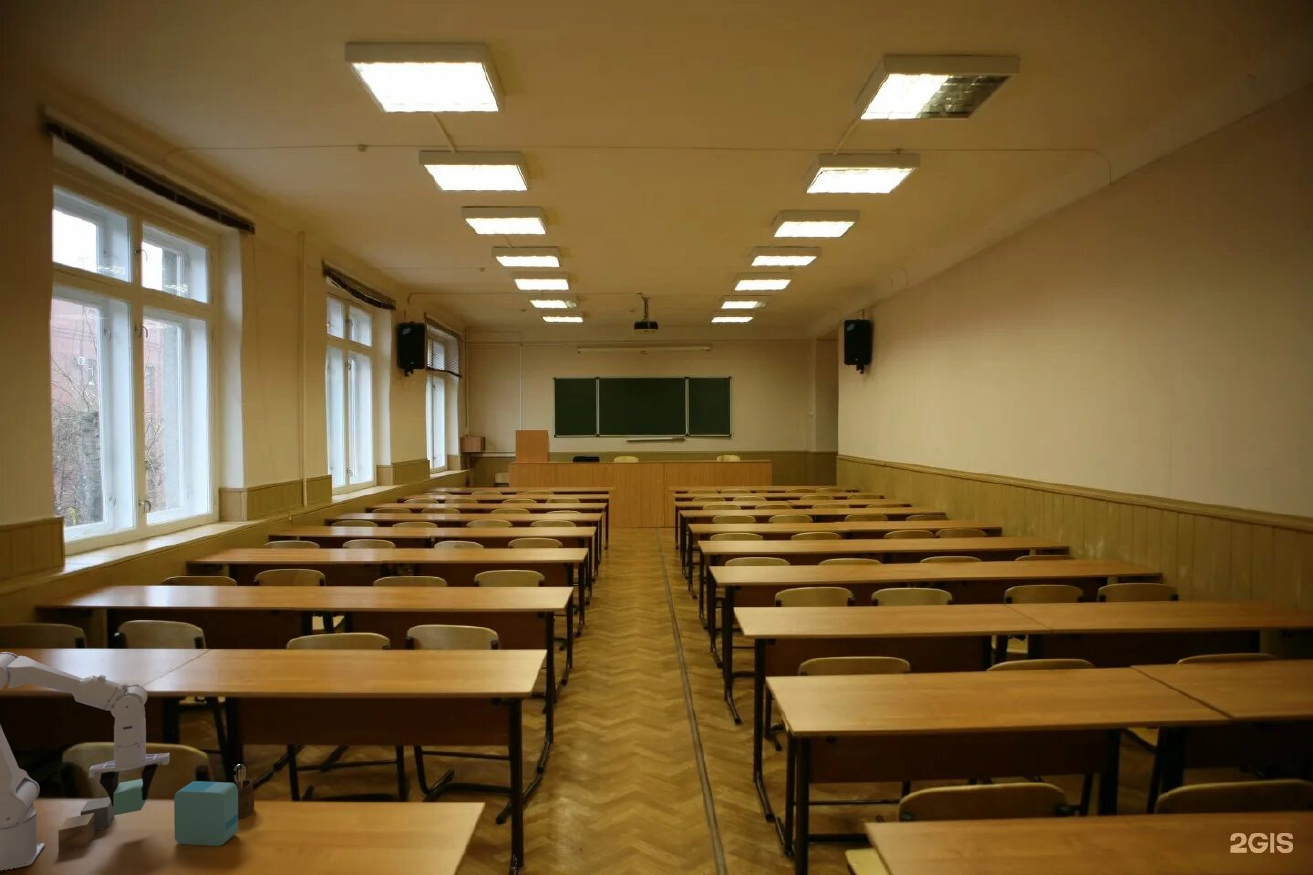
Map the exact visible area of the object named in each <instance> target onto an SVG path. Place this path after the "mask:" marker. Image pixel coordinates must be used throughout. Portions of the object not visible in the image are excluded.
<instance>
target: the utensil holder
mask: <svg viewBox="0 0 1313 875" xmlns="http://www.w3.org/2000/svg"><path fill="white" fill-rule="evenodd" d="M240 766H241V767H242V768H240ZM237 768H238V769H237ZM234 769H235V770H238V772H237V773H238V774H237V776H234V777H233V778H234V780H235V781H234V782H233V783H234V784H235V785H236V786H237V788H238V820H240V819H243V818H247V817H248V816H249V815H251V814H252V813H253V812H254V810H255V790H254V788H253V786H254V785H253V781H252V780H251V779H246V777H247V768H246V767H245V765H244V764H242V763H241V764H237V765H236V766H235V767H234Z"/></svg>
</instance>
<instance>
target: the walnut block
mask: <svg viewBox="0 0 1313 875" xmlns="http://www.w3.org/2000/svg"><path fill="white" fill-rule="evenodd" d="M57 834H58V840H57V841H58V843H57V844H58V847H57V848H58V853H64V852H68V851H72V850H77V849H76V848H78V849H81V848H86V847H89V844H90V843H91V841H92V839H93V837H94V836H95V830H94V813H91V814H86V815H81V814H80V815H77V816H72V817H71V816H70V817H66V818H65V819H64V821H63V823H62V824H61V825H60V827H59V829H58V833H57Z"/></svg>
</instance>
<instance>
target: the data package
mask: <svg viewBox="0 0 1313 875" xmlns="http://www.w3.org/2000/svg"><path fill="white" fill-rule="evenodd" d="M173 802H174V809H173V810H174V813H173V814H174V815H173V816H174V840H175V842H176V843H178V844H180V845H190V846H191V845H192V846H193V845H195V846H206V847H207V846H211V847H214V846H215V847H221V846H223V845H224V844H226V842H228V841H229V840H230V839H231V838H233V837H234V836H235V835H236V834H237V833H238V830H239V819H238V788H237V786H236V785H235V784H234V782H222V781H221V782H220V781H203V780H202V781H201V780H199V781H198V780H197V781H196V780H195V781H194V780H193V781H191V782H190V783H188V784H187V785H185V786H183V787H182V788H180V789H179V790H178V791H176V793H175V794H174V798H173Z"/></svg>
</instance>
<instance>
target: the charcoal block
mask: <svg viewBox="0 0 1313 875" xmlns="http://www.w3.org/2000/svg"><path fill="white" fill-rule="evenodd" d="M91 813H94V831H98V830H102V829H101V828H103V829H107V828H109V826H110V825H111V823H112V822H111V821H113V820H112V819H114V818H115V815H114V806H112V804H111V800H110V798H109V796H107V797H102V798H97V799H92V800H91V799H90V800H87V801H86V803H85V804H84V806H83V807H82V809H81V810H80V816H81V815H86V814H91ZM97 829H98V830H97Z"/></svg>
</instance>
